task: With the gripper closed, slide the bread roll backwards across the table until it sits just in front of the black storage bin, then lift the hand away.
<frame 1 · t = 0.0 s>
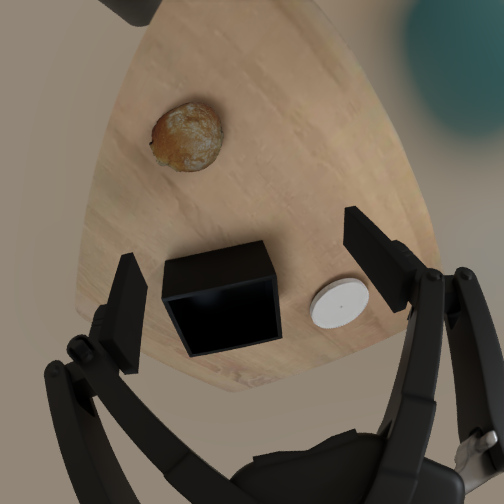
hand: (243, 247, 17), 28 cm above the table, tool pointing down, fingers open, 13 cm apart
bread roll: (186, 136, 39), on the table
plastic lid: (336, 298, 63), on the table
black storage bin: (221, 284, 55), on the table
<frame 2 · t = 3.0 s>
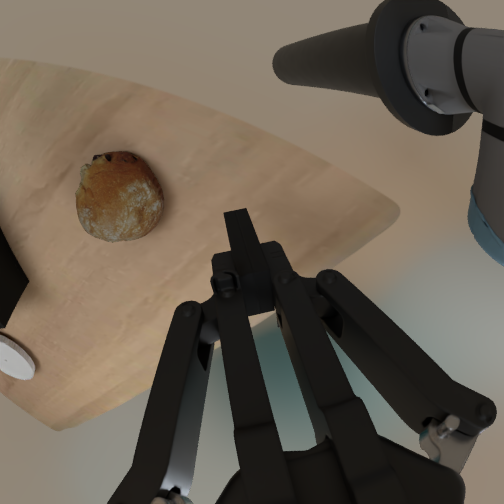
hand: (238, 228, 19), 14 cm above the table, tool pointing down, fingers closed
bread roll: (120, 190, 30), on the table
plastic lid: (9, 350, 41), on the table
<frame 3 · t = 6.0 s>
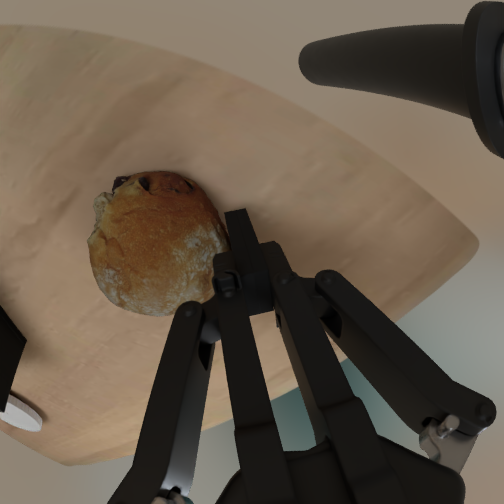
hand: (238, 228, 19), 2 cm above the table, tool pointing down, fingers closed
bread roll: (158, 230, 20), on the table, touching gripper
plastic lid: (10, 401, 31), on the table
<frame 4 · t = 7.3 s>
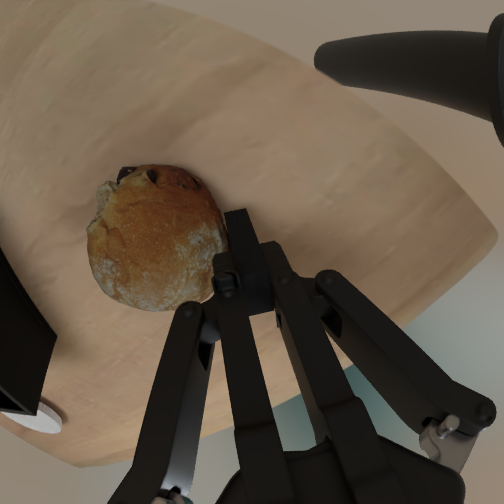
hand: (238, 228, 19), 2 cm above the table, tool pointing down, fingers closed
bread roll: (158, 225, 20), on the table, touching gripper
plastic lid: (26, 402, 32), on the table
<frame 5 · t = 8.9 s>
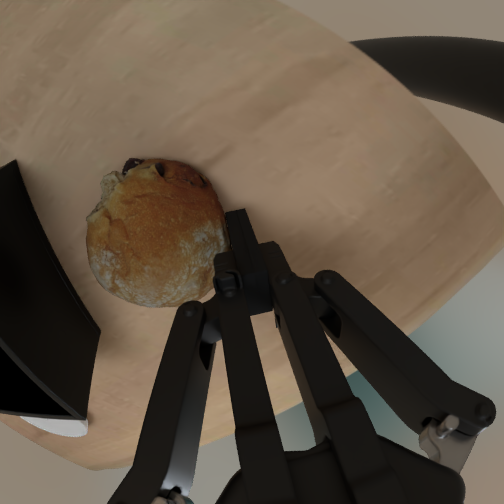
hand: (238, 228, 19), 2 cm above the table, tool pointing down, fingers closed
bread roll: (158, 220, 20), on the table, touching gripper
plastic lid: (49, 405, 32), on the table
black storage bin: (0, 275, 19), on the table
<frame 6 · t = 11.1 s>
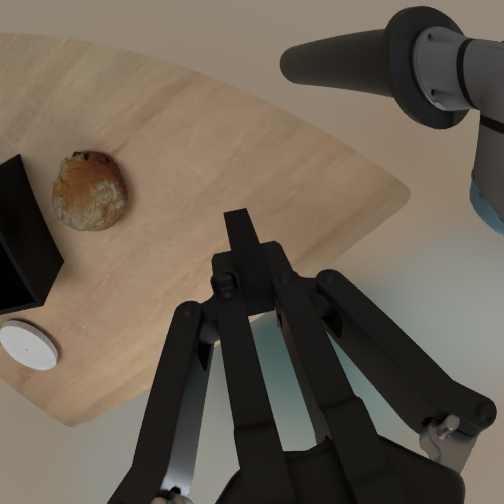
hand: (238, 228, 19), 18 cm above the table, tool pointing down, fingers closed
bread roll: (92, 185, 32), on the table
plastic lid: (30, 339, 44), on the table
black storage bin: (5, 225, 31), on the table
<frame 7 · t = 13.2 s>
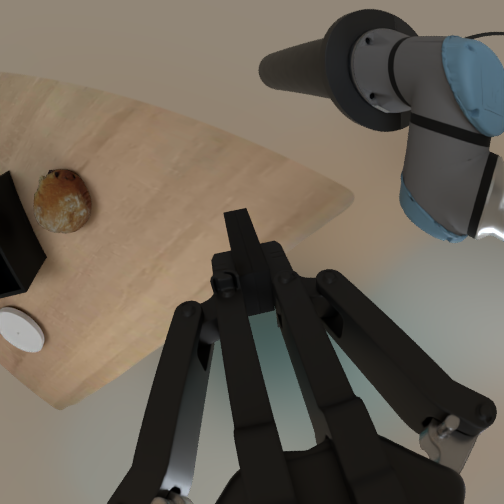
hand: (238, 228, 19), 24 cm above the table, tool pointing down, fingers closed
bread roll: (65, 196, 38), on the table
plastic lid: (21, 325, 50), on the table
black storage bin: (0, 227, 37), on the table
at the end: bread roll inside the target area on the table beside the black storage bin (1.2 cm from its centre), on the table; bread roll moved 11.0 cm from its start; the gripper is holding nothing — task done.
